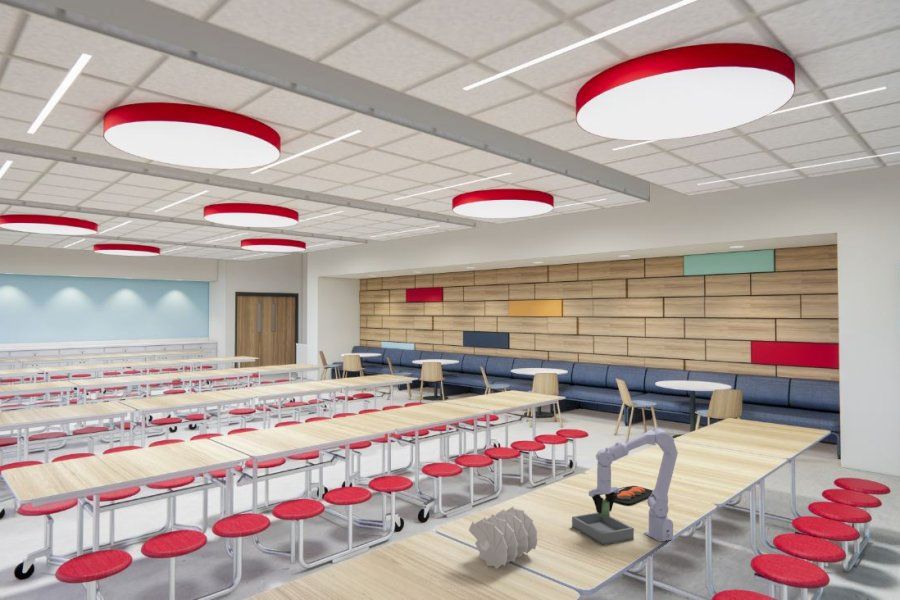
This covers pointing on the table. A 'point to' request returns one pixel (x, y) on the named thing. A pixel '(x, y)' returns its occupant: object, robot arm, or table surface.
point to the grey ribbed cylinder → (504, 536)
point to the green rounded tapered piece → (605, 509)
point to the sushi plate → (632, 494)
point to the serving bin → (602, 528)
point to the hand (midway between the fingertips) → (604, 511)
